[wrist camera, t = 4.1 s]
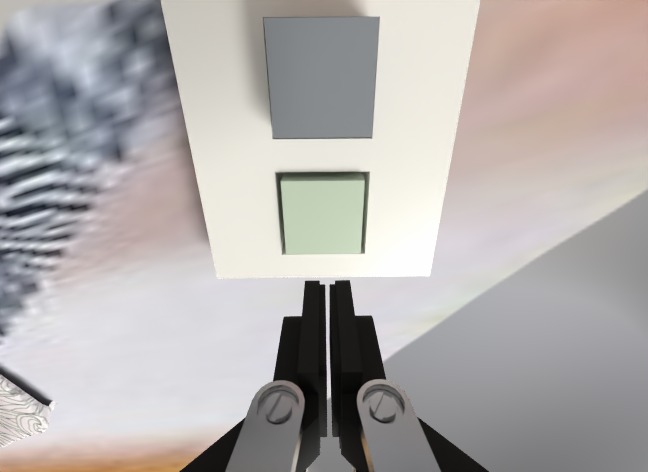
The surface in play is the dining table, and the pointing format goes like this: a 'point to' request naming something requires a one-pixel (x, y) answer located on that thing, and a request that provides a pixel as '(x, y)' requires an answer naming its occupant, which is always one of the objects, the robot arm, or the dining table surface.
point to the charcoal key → (322, 75)
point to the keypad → (321, 153)
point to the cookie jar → (20, 413)
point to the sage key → (322, 212)
